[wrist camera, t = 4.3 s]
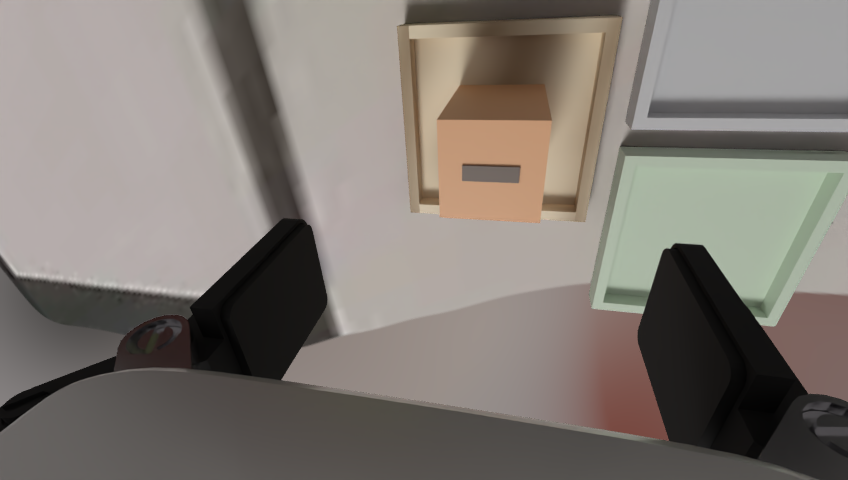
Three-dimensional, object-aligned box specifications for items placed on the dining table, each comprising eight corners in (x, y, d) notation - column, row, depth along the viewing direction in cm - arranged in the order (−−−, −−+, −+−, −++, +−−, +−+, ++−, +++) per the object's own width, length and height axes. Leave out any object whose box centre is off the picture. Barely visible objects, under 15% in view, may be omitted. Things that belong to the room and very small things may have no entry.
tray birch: (616, 15, 20) (622, 16, 18) (582, 210, 25) (585, 222, 24) (404, 24, 22) (397, 26, 20) (415, 201, 27) (410, 212, 26)
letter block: (544, 84, 21) (552, 121, 15) (536, 166, 24) (539, 226, 18) (459, 85, 22) (436, 120, 16) (460, 164, 25) (439, 220, 19)
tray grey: (1013, -179, 14) (1060, -195, 13) (858, 123, 20) (881, 132, 18) (680, -142, 16) (693, -152, 15) (625, 121, 22) (631, 129, 21)
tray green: (844, 151, 20) (865, 161, 19) (763, 310, 26) (775, 326, 25) (619, 146, 23) (625, 155, 21) (588, 294, 28) (591, 308, 27)
